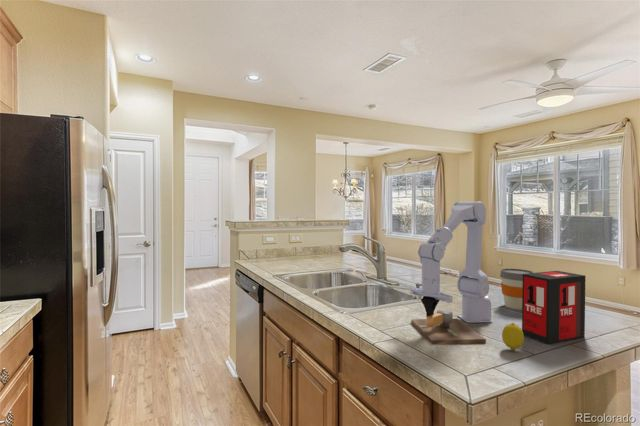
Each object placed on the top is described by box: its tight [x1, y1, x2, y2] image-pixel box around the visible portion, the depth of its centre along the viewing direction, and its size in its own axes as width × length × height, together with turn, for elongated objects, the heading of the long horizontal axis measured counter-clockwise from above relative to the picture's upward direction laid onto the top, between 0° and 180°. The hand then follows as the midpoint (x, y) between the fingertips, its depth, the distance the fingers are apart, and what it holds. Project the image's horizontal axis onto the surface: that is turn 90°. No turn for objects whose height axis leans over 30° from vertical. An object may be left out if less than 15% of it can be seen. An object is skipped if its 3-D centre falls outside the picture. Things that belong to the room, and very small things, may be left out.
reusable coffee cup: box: [499, 268, 535, 311], centre depth 142 cm, size 13×13×15 cm
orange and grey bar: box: [426, 309, 454, 327], centre depth 112 cm, size 12×5×3 cm, turn 127°
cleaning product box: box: [521, 270, 586, 346], centre depth 109 cm, size 16×9×20 cm, turn 110°
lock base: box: [410, 318, 487, 345], centre depth 112 cm, size 17×19×3 cm
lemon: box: [501, 322, 525, 351], centre depth 98 cm, size 6×6×8 cm
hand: (430, 319), depth 111 cm, fingers closed, pressing on orange and grey bar
